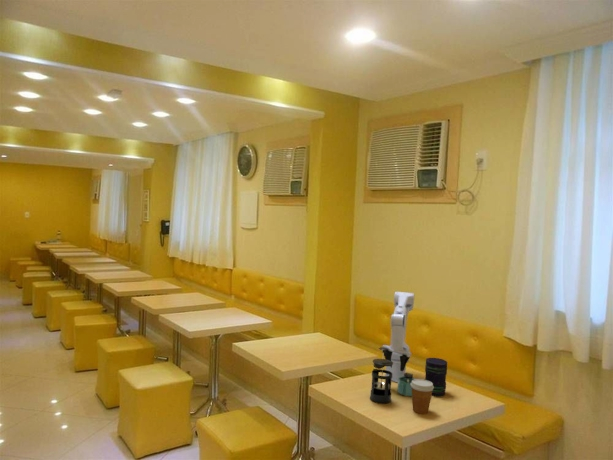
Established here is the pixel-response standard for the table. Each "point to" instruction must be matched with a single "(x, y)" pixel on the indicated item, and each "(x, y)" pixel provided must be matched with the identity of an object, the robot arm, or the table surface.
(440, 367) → the storage jar
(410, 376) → the plunger
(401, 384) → the carafe
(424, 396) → the disposable coffee cup
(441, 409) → the table surface
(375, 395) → the french press
